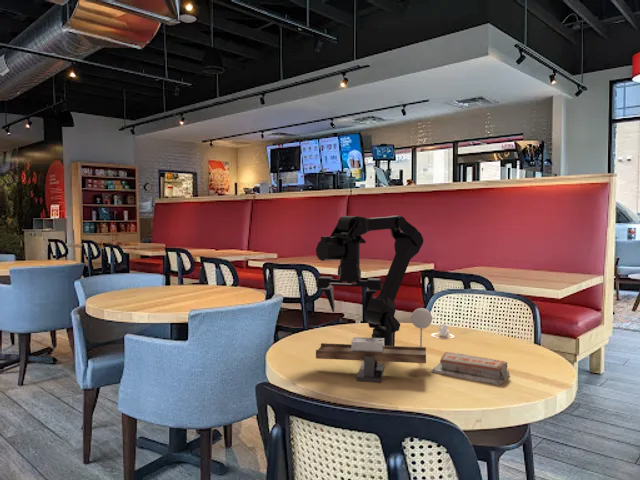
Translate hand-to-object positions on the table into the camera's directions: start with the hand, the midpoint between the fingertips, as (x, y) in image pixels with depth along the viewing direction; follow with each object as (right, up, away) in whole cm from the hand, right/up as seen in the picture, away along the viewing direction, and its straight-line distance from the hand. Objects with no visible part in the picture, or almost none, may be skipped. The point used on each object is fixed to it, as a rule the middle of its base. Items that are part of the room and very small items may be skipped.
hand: (349, 312), depth 146 cm
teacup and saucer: (+37, -13, +27) cm, 48 cm away
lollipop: (+21, -14, -2) cm, 25 cm away
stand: (+5, -14, -15) cm, 21 cm away
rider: (+4, -8, -15) cm, 18 cm away
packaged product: (+31, -15, -14) cm, 37 cm away
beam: (+5, -9, -15) cm, 18 cm away
